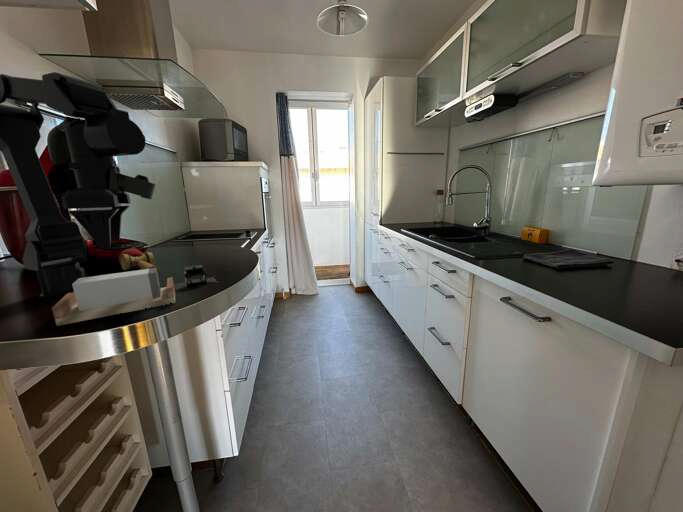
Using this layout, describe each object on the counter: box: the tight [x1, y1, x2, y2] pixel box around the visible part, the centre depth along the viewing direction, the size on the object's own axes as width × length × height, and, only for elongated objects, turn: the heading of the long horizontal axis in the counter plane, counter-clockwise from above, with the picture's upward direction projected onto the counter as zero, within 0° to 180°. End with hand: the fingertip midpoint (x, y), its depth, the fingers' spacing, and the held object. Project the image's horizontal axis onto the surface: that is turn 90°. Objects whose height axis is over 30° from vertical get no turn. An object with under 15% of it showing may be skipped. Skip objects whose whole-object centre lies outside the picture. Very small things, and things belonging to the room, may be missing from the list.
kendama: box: [118, 247, 160, 274], centre depth 77 cm, size 8×6×18 cm
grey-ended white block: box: [72, 268, 161, 311], centre depth 52 cm, size 12×4×5 cm, turn 121°
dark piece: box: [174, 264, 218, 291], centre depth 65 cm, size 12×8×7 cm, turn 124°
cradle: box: [51, 276, 176, 327], centre depth 53 cm, size 17×8×3 cm, turn 121°
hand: (111, 244), depth 52 cm, fingers open, 9 cm apart
